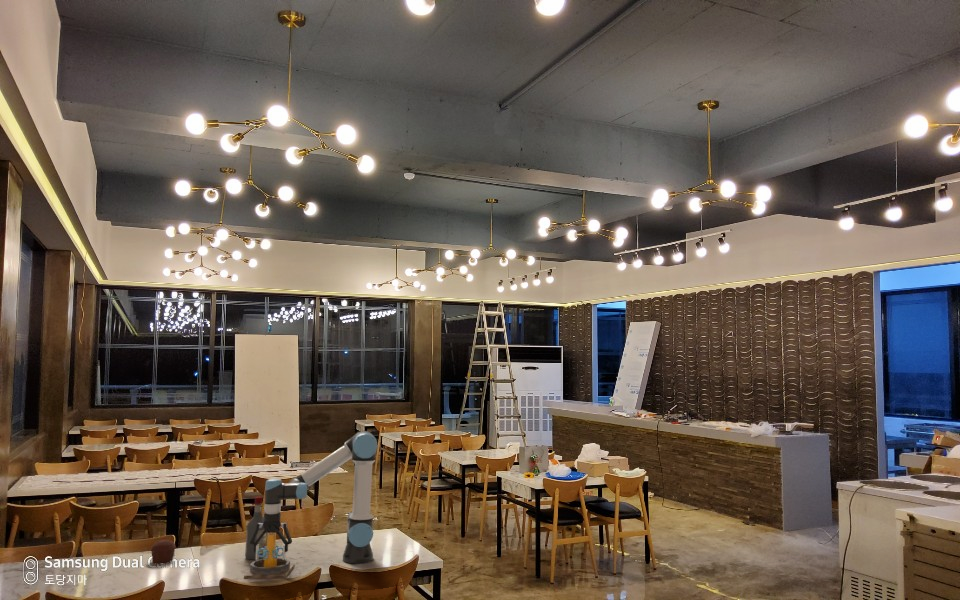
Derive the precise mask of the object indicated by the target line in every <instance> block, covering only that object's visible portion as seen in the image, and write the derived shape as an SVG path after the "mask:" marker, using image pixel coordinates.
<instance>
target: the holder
mask: <svg viewBox="0 0 960 600" xmlns="http://www.w3.org/2000/svg"><path fill="white" fill-rule="evenodd" d="M295 566H296V565H295V562H294V563H293V562H292V563H291V561H290V560H289V559H288V558H285V559H284V560H283V557H277V566H276V567H264V558H262V559H259V560H252V562H251V563H250V564H249V569H248V570H247V572H246V573H245V574H244V575H243V579H286V578H287V577H288V576H289V574H290V573H291V572H292V570H293V569H294V567H295Z"/></svg>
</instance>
